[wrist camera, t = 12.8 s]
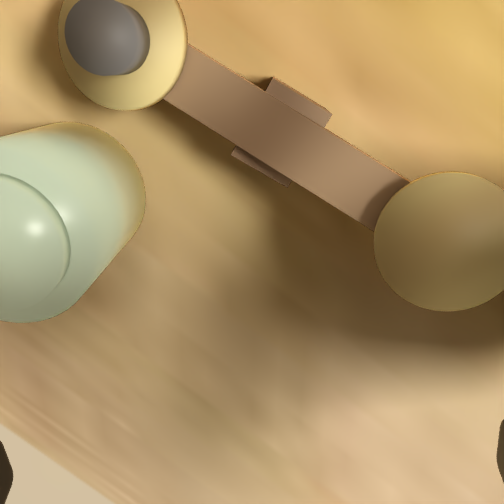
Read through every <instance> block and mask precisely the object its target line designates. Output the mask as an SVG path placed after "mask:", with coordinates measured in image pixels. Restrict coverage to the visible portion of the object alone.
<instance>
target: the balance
mask: <svg viewBox="0 0 504 504" xmlns="http://www.w3.org/2000/svg"><path fill="white" fill-rule="evenodd" d="M58 44H59V50H60V54H61V58H62V61H63V64H64V66H65V69H66V71H67V73H68V75H69V77H70V78H71V80H72V81H73V83H74V84H75V85H76V87H77V88H78V89H79V90H80V91H81V92H82V93H83V94H84V95H85V96H86V97H88V98H89V99H90V100H92V101H93V102H95V103H97V104H99V105H101V106H103V107H106V108H109V109H114V110H126V111H132V110H140V109H144V108H147V107H150V106H152V105H154V104H156V103H157V102H159V101H160V100H162V99H164V100H166V101H167V102H169V103H171V104H172V105H174V106H175V107H177V108H179V109H180V110H182V111H183V112H185V113H186V114H188V115H190V116H191V117H193V118H194V119H196V120H198V121H199V122H201V123H202V124H204V125H206V126H207V127H209V128H210V129H212V130H213V131H215V132H217V133H218V134H220V135H221V136H223V137H225V138H226V139H228V140H229V141H231V142H232V143H234V144H236V146H235V148H234V150H233V152H232V153H231V155H232V156H233V157H235V158H237V159H239V160H240V161H242V162H244V163H245V164H247V165H249V166H251V167H252V168H254V169H256V170H258V171H259V172H261V173H263V174H265V175H266V176H268V177H270V178H272V179H273V180H275V181H277V182H279V183H280V184H282V185H284V186H286V187H287V188H288V186H289V184H290V183H291V181H292V180H293V181H294V182H296V183H298V184H299V185H301V186H302V187H304V188H305V189H307V190H309V191H310V192H312V193H313V194H315V195H317V196H318V197H320V198H321V199H323V200H325V201H326V202H328V203H329V204H331V205H332V206H334V207H336V208H337V209H339V210H340V211H342V212H344V213H345V214H347V215H348V216H350V217H352V218H353V219H355V220H356V221H358V222H359V223H361V224H363V225H364V226H366V227H367V228H369V229H371V230H372V231H374V232H375V233H374V254H375V259H376V263H377V266H378V269H379V271H380V273H381V275H382V277H383V279H384V280H385V282H386V283H387V284H388V285H389V287H390V288H391V289H392V290H393V291H394V292H395V293H396V294H397V295H399V296H400V297H402V298H403V299H404V300H406V301H408V302H410V303H412V304H414V305H416V306H419V307H421V308H425V309H429V310H434V311H447V312H450V311H460V310H465V309H470V308H473V307H476V306H479V305H481V304H483V303H485V302H487V301H489V300H491V299H492V298H494V297H496V296H497V295H498V294H499V293H501V292H502V291H503V290H504V190H503V189H501V188H500V187H498V186H497V185H496V184H494V183H492V182H490V181H488V180H486V179H484V178H482V177H479V176H476V175H474V174H469V173H465V172H455V171H451V172H439V173H433V174H430V175H426V176H423V177H421V178H418V179H416V180H414V181H412V182H411V181H409V180H408V179H406V178H404V177H403V176H401V175H400V174H398V173H396V172H395V171H393V170H392V169H390V168H388V167H387V166H385V165H383V164H382V163H380V162H379V161H377V160H375V159H374V158H372V157H371V156H369V155H367V154H366V153H364V152H363V151H361V150H359V149H358V148H356V147H354V146H353V145H351V144H350V143H348V142H346V141H345V140H343V139H342V138H340V137H338V136H337V135H335V134H333V133H332V132H330V131H329V130H327V129H325V128H324V127H325V126H326V124H327V122H328V121H329V119H330V117H331V116H332V114H331V113H330V112H329V111H328V110H327V109H326V108H324V107H322V106H321V105H319V104H318V103H316V102H314V101H313V100H311V99H309V98H308V97H306V96H304V95H303V94H301V93H299V92H298V91H296V90H295V89H293V88H291V87H290V86H288V85H286V84H285V83H283V82H281V81H280V80H278V79H277V78H275V77H273V78H272V80H271V82H270V84H269V86H268V87H267V89H266V91H264V90H263V89H261V88H259V87H258V86H256V85H254V84H253V83H251V82H250V81H248V80H246V79H245V78H243V77H242V76H240V75H238V74H237V73H235V72H233V71H232V70H230V69H229V68H227V67H225V66H224V65H222V64H221V63H219V62H217V61H216V60H214V59H212V58H211V57H209V56H208V55H206V54H204V53H203V52H201V51H200V50H198V49H196V48H195V47H193V46H192V45H190V44H188V36H187V27H186V23H185V18H184V15H183V12H182V10H181V8H180V5H179V3H178V1H177V0H64V2H63V4H62V7H61V11H60V15H59V21H58Z"/></svg>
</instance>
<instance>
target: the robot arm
mask: <svg viewBox="0 0 504 504" xmlns="http://www.w3.org/2000/svg"><path fill="white" fill-rule="evenodd" d="M497 464H498V468H499V472H500V474H501V477H502V480H503V482H504V420H503V421H502V422H501V425H500V431H499V439H498V447H497ZM12 481H13V470H12V467H11V465H10V462H9V459H8V457H7V454H6V451H5V449H4V446H3V444H2V442H1V441H0V504H5V501H6V499H7V496H8V493H9V491H10V488H11V485H12Z"/></svg>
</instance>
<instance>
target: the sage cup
mask: <svg viewBox="0 0 504 504" xmlns="http://www.w3.org/2000/svg"><path fill="white" fill-rule="evenodd" d="M145 205H146V194H145V186H144V183H143V179H142V176H141V173H140V171H139V168H138V167H137V165H136V163H135V161H134V160H133V158H132V157H131V155H130V154H129V153H128V151H127V150H126V149H125V148H124V147H123V146H122V145H121V144H120V143H119V142H118V141H117V140H115V139H114V138H113V137H111V136H110V135H108V134H107V133H105V132H103V131H101V130H100V129H98V128H95V127H92V126H90V125H86V124H82V123H76V122H58V123H52V124H48V125H44V126H40V127H37V128H33V129H29V130H25V131H21V132H17V133H13V134H9V135H5V136H2V137H0V320H1V321H6V322H15V323H30V322H38V321H42V320H46V319H50V318H52V317H54V316H57V315H59V314H61V313H63V312H64V311H66V310H68V309H69V308H70V307H71V306H72V305H74V304H75V303H76V302H77V301H78V300H79V298H80V297H81V296H82V295H83V294H84V293H85V292H86V290H87V289H88V288H89V287H90V286H91V285H92V283H93V282H94V281H95V280H96V279H97V278H98V276H99V275H100V274H101V273H102V272H103V271H104V269H105V268H106V267H107V266H108V265H109V264H110V262H111V261H112V260H113V259H114V258H115V256H116V255H117V254H118V253H119V252H120V251H121V249H122V248H123V247H124V246H125V245H126V244H127V242H128V241H129V240H130V239H131V238H132V237H133V235H134V234H135V233H136V231H137V230H138V228H139V226H140V224H141V222H142V219H143V215H144V211H145Z"/></svg>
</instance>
